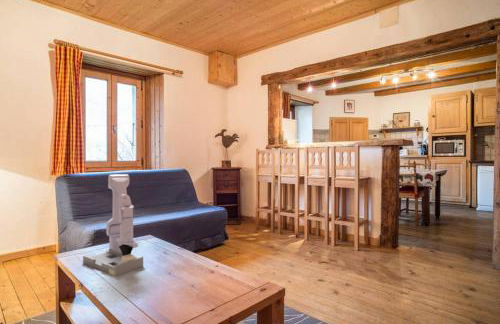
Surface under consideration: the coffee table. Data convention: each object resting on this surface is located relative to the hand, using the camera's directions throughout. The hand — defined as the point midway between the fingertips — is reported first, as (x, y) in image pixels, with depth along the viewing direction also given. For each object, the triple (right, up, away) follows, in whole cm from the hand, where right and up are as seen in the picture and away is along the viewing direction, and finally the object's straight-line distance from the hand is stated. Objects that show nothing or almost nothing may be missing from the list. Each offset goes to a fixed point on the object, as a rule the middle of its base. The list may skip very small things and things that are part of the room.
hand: (126, 260), depth 138 cm
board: (-8, -3, +2) cm, 8 cm away
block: (+2, -1, -3) cm, 4 cm away
